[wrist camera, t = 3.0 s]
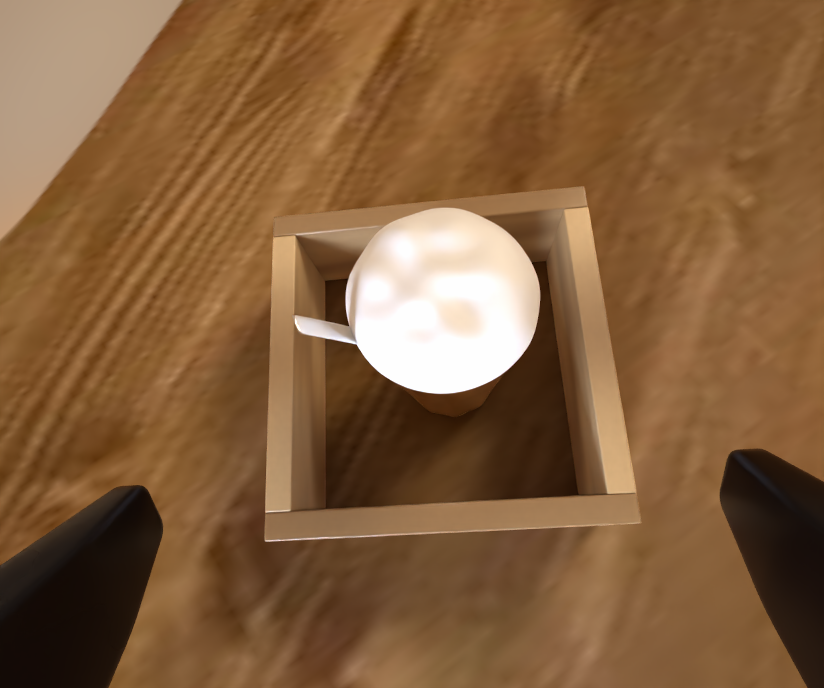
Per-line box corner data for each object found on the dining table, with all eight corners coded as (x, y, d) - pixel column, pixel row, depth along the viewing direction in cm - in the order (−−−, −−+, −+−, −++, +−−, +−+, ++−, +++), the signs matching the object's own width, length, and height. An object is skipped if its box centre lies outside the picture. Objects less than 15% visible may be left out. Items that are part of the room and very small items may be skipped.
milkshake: (355, 355, 20) (259, 230, 11) (479, 301, 21) (491, 130, 11) (399, 463, 19) (333, 428, 10) (532, 405, 19) (596, 313, 10)
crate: (605, 518, 18) (642, 523, 14) (304, 533, 19) (263, 541, 15) (563, 241, 21) (585, 184, 17) (306, 265, 22) (273, 216, 18)
